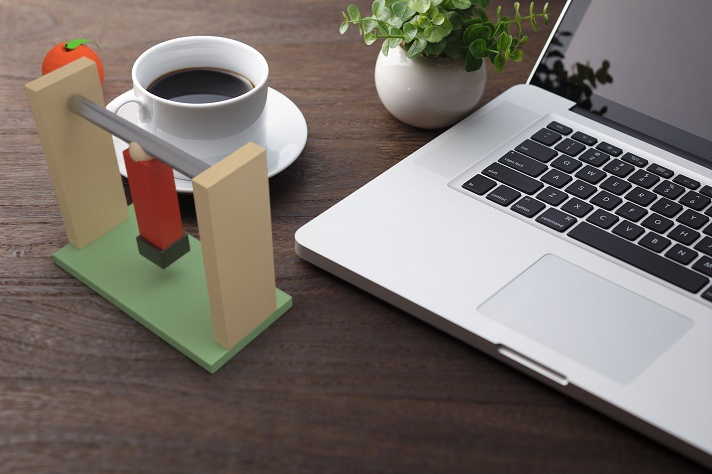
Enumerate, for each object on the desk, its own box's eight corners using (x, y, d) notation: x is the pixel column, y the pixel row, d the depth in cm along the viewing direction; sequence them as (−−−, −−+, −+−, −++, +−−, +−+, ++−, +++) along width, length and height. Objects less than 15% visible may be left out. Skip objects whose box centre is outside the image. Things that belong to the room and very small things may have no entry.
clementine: (86, 73, 103) (74, 20, 98) (127, 89, 100) (117, 36, 95) (36, 102, 98) (21, 48, 93) (78, 120, 95) (65, 65, 90)
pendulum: (88, 221, 76) (57, 103, 67) (116, 204, 78) (89, 87, 69) (220, 306, 68) (204, 185, 60) (247, 285, 70) (235, 164, 61)
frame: (54, 263, 77) (1, 95, 65) (137, 210, 83) (103, 47, 71) (212, 374, 68) (185, 202, 56) (293, 306, 74) (284, 136, 61)
